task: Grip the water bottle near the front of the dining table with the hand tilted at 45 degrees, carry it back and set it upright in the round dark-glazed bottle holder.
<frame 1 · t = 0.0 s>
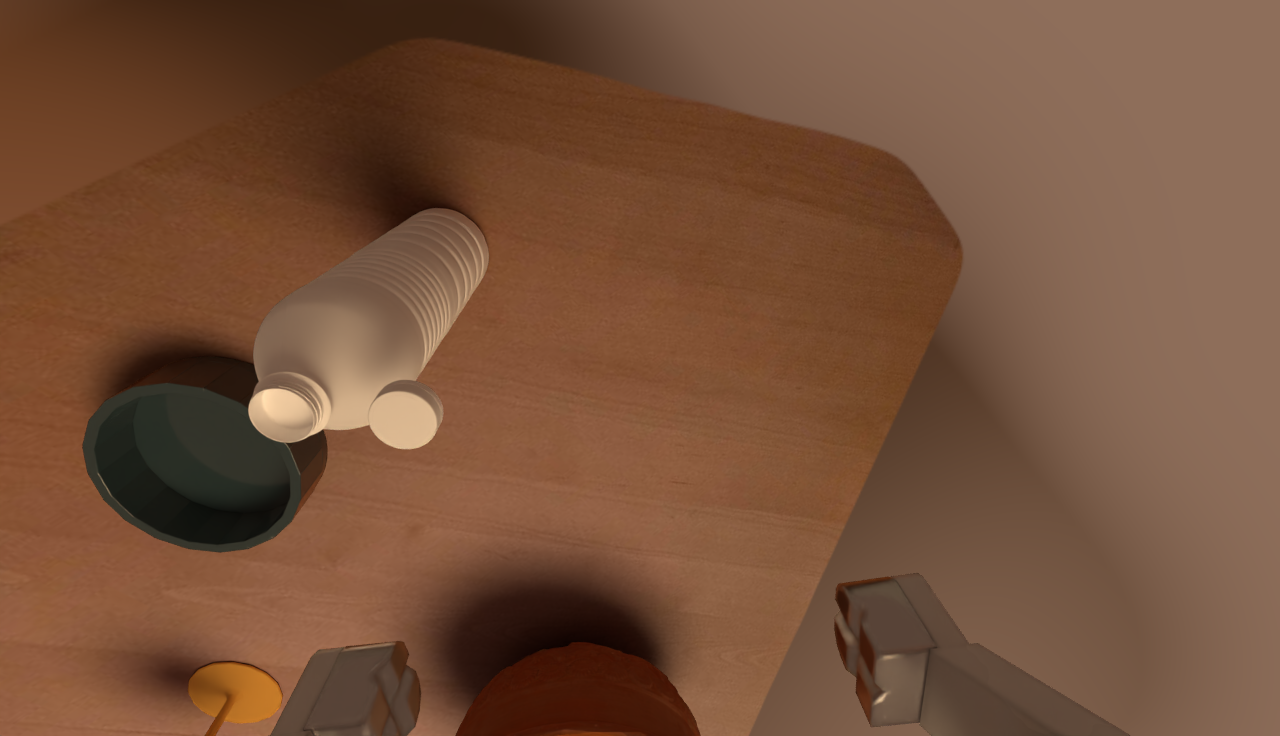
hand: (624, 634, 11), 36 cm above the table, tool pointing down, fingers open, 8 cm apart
cup: (237, 690, 61), on the table
bowl: (579, 673, 63), on the table
water bottle: (461, 251, 44), on the table
holder: (232, 439, 49), on the table
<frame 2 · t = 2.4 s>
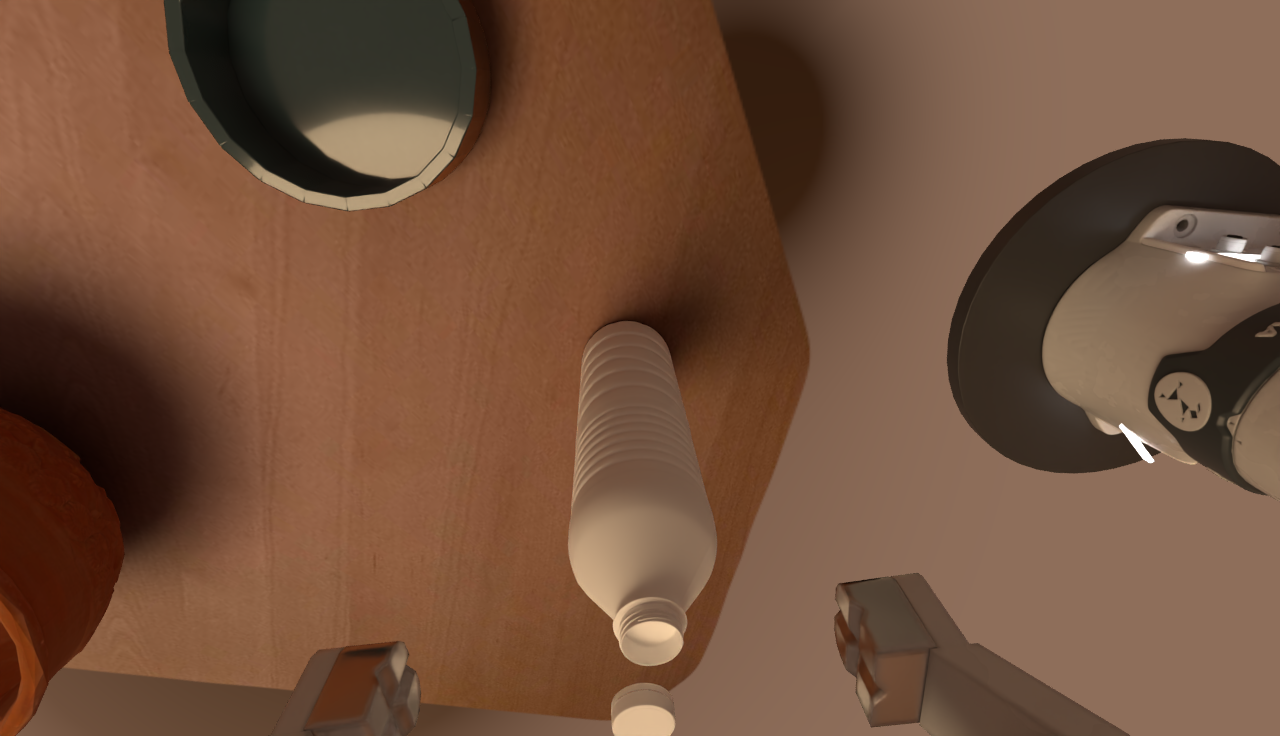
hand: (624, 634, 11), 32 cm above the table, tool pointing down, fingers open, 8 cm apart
bowl: (23, 470, 45), on the table
water bottle: (625, 373, 44), on the table
holder: (361, 64, 35), on the table
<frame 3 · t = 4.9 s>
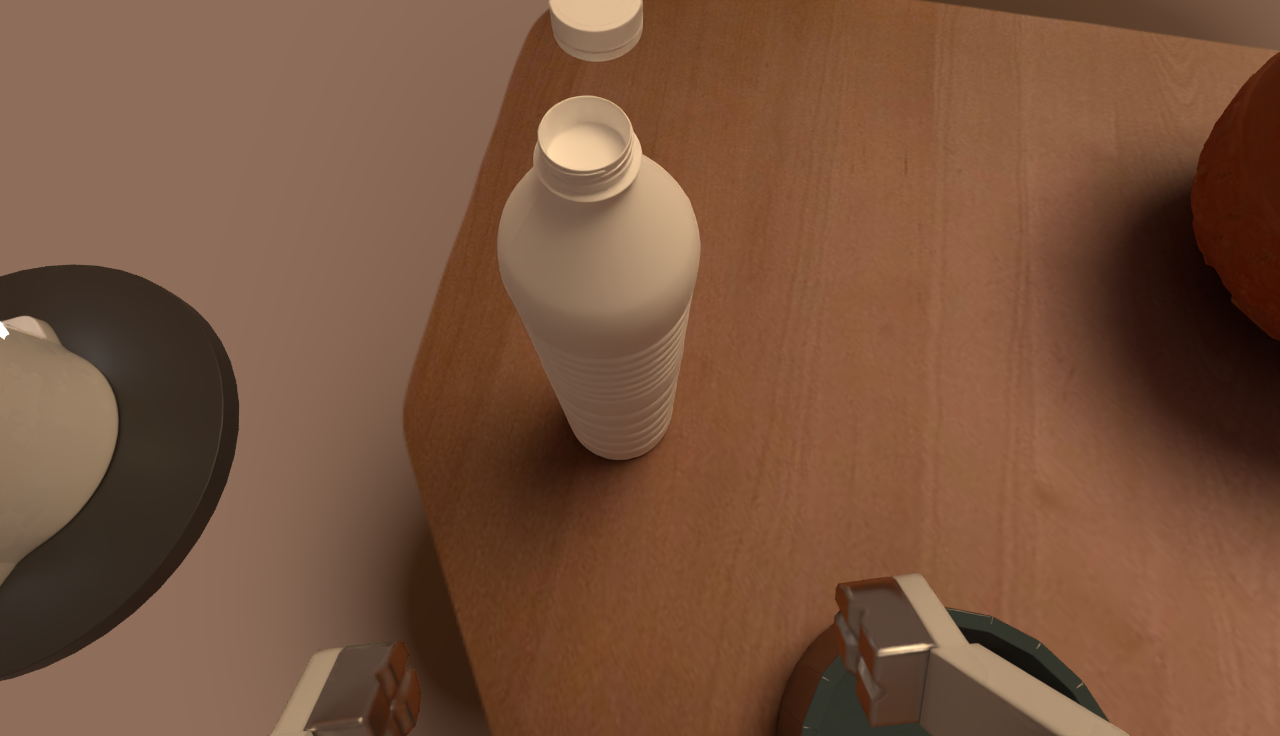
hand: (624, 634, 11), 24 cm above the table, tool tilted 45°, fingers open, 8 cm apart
water bottle: (621, 394, 38), on the table
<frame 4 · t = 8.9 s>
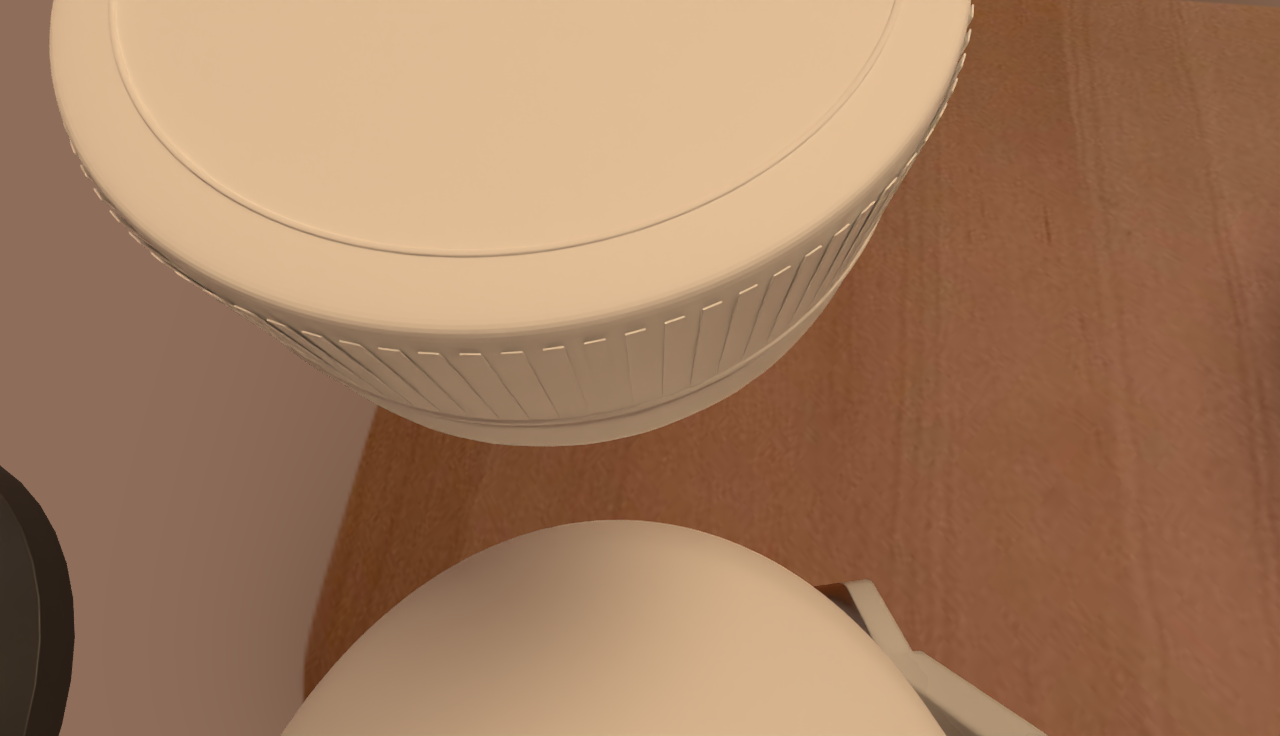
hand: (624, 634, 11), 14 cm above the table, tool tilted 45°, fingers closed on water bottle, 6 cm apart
water bottle: (646, 624, 24), on the table, touching gripper
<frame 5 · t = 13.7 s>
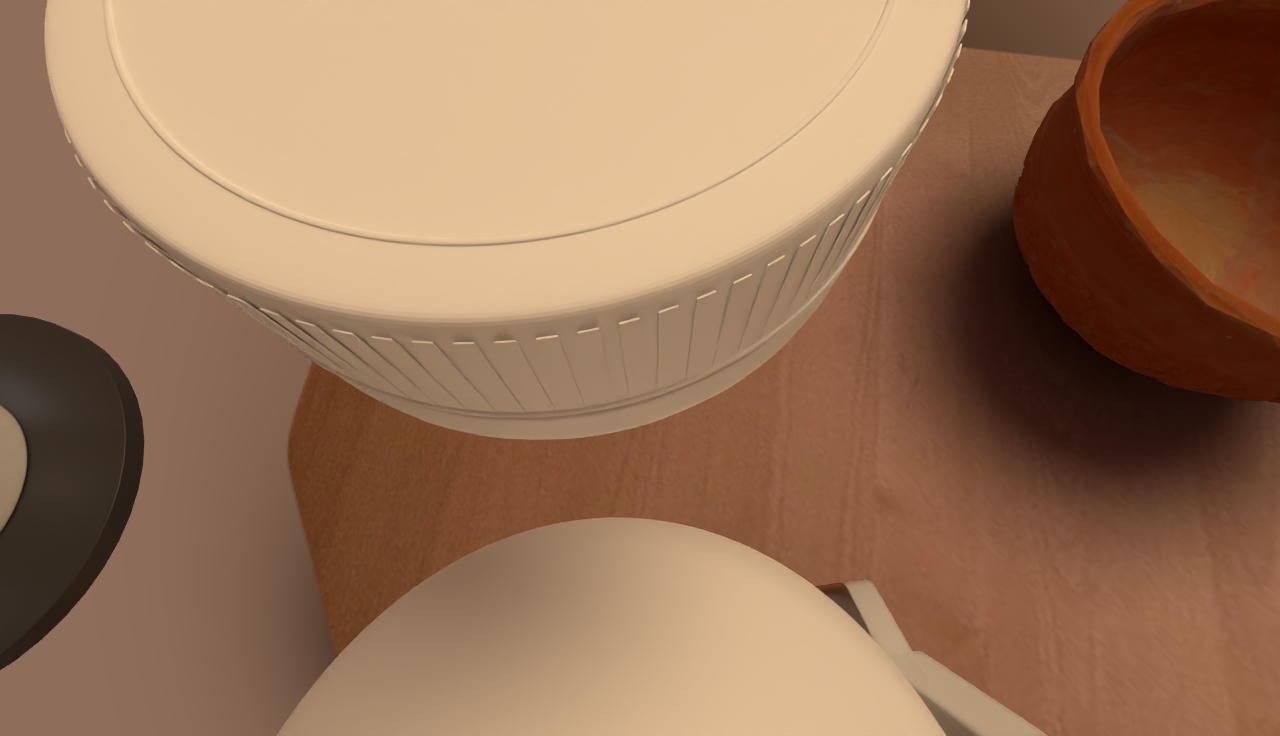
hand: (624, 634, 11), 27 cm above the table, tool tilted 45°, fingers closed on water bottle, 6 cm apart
bowl: (1120, 284, 43), on the table
water bottle: (646, 623, 24), point 13 cm above the table, touching gripper
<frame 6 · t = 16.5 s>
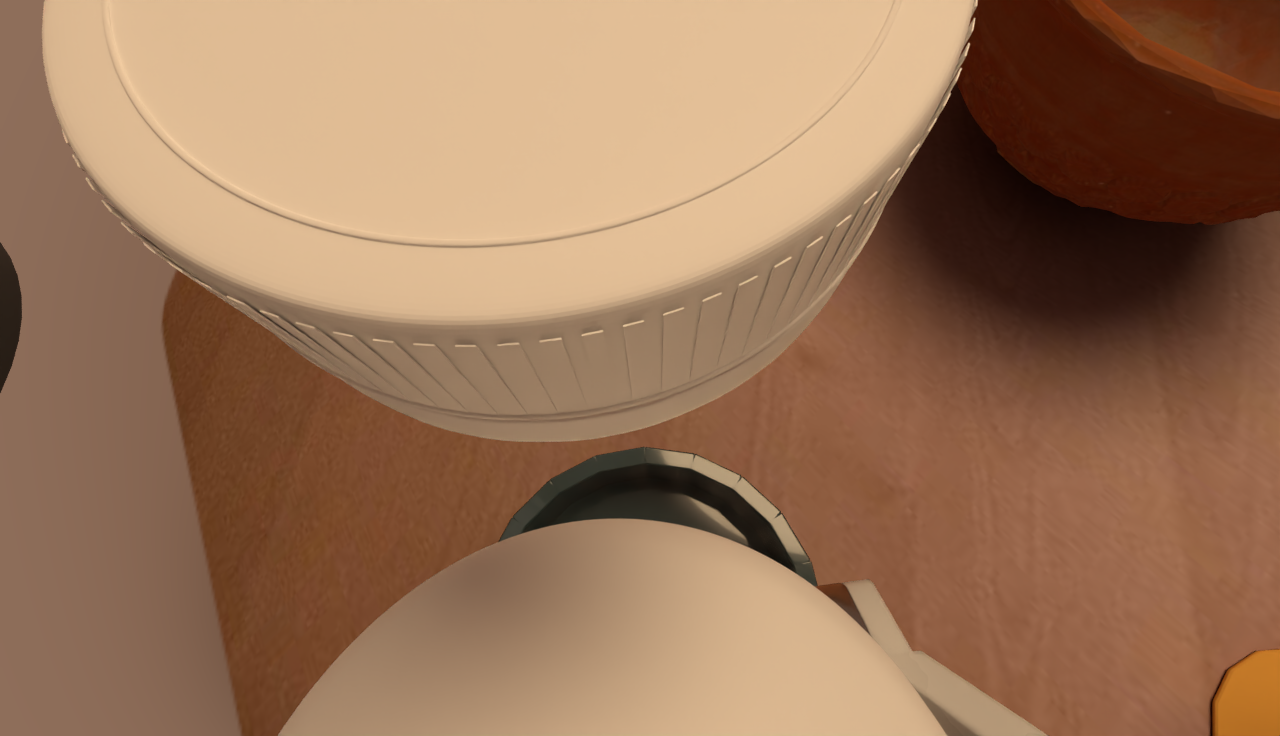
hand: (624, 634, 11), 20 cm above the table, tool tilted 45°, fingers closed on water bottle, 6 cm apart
bowl: (1074, 139, 39), on the table
water bottle: (646, 623, 24), point 6 cm above the table, touching gripper
holder: (649, 615, 30), on the table
when the fingers open (15 cm above the table, at t = 18.6 s): water bottle stays where it is, resting on holder.
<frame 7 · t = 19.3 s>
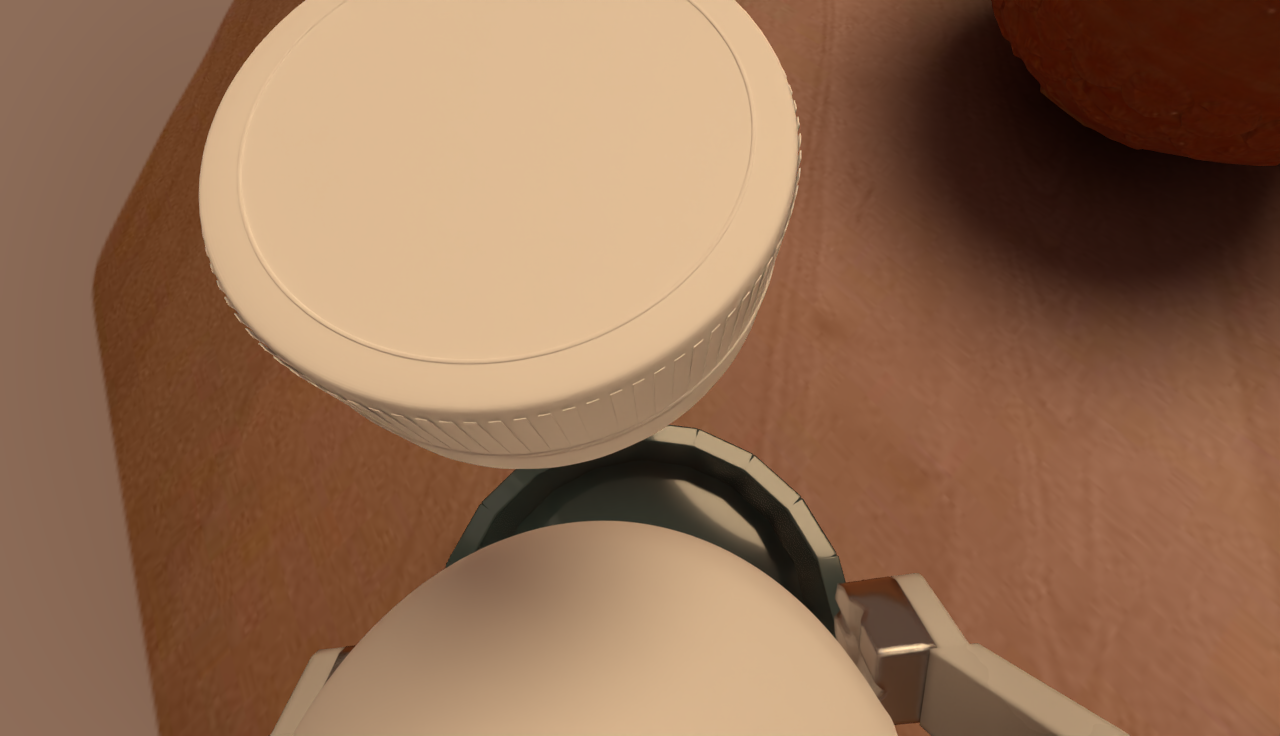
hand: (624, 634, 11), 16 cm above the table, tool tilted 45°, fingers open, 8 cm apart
bowl: (1122, 85, 35), on the table
water bottle: (644, 621, 25), point 1 cm above the table, touching holder
holder: (645, 620, 26), on the table
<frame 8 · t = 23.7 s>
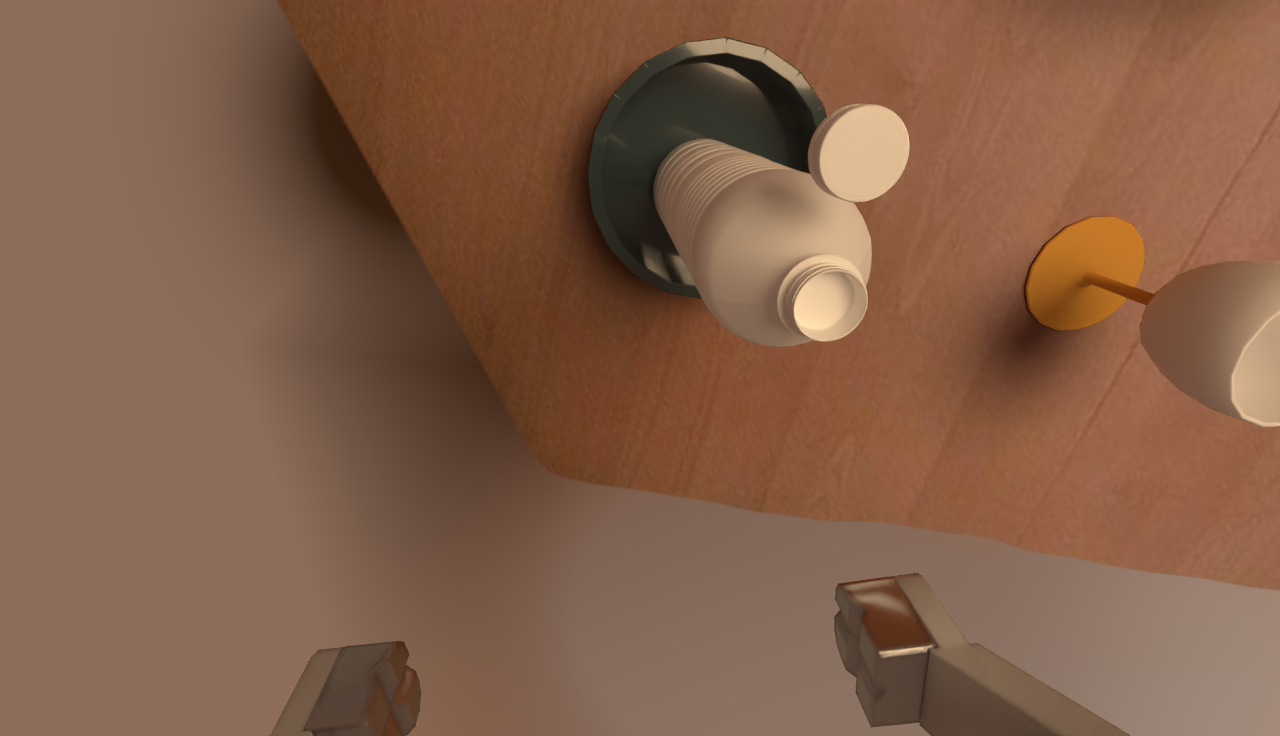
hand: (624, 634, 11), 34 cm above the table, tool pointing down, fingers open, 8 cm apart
cup: (1081, 274, 46), on the table
water bottle: (701, 171, 40), point 1 cm above the table, touching holder
holder: (700, 170, 41), on the table
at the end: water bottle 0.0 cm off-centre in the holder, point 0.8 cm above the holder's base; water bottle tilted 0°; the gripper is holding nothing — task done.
